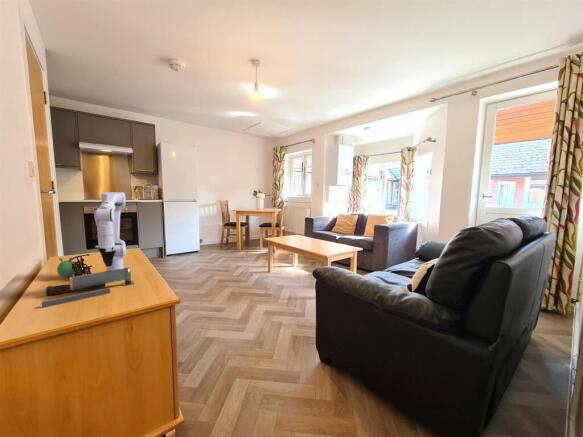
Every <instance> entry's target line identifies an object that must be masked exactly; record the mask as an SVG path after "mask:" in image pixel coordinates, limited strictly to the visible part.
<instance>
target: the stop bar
mask: <svg viewBox="0 0 583 437" xmlns="http://www.w3.org/2000/svg"><path fill="white" fill-rule="evenodd" d="M110 293H111V288H110V287H106V288H105V287H104V288H99V289H95V290H90V291H86V292H81V293H77V294H71V295H66V296H63V297H56V298H51V299H49V300H43V301H41V308H47V307H51V306H55V305H60V304H61V305H62V304H64V303H69V302H73V301H79V300H84V299H89V298H92V297H97V296H102V295H107V294H110Z"/></svg>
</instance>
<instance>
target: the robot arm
mask: <svg viewBox="0 0 583 437" xmlns="http://www.w3.org/2000/svg"><path fill="white" fill-rule="evenodd" d="M100 196H101V197H100V199H101V204H100V205H99V208H97V209H96V210H94V216H93V217H94V221H95V225H96V226H97V229H96V230H97V242H98V245H95V246H94V247H95V248H98V252H99V253H100V256H101V258H102V261H103V263H104V265H105V271H111V270H117V269H123V268H125V267H124V257H126V255H127V246H126V242H125V241H124V240H122V239H121V238H120V237H121V236H120V233H121V231H120V230H121V213H122V210H125V209H126V201H127V200H126V193H125V192H115V191H113V192H111V191H109V192H107V191H106V192H105V191H102V192H101V195H100Z"/></svg>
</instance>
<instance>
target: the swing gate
mask: <svg viewBox="0 0 583 437" xmlns="http://www.w3.org/2000/svg"><path fill="white" fill-rule="evenodd" d="M131 272H132V271H131V267H130V266H128V267H124V268H123V269H117V270H111V271H106V270H105V271H100V272H93V273H87V274H81V275H76V276H71V277H69V284H70V289H71V290H75V289H80V288H85V287H90V286H96V285H101V284H105V285H106V284H110V283H115V282H120V281H124V283H125V284H130V283H131V281H132V273H131Z"/></svg>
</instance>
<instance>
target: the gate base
mask: <svg viewBox="0 0 583 437" xmlns="http://www.w3.org/2000/svg"><path fill="white" fill-rule="evenodd" d="M132 285H135V283H134V281H132V280H131V283H130V284H125V282H122V287H127V286H132Z"/></svg>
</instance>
